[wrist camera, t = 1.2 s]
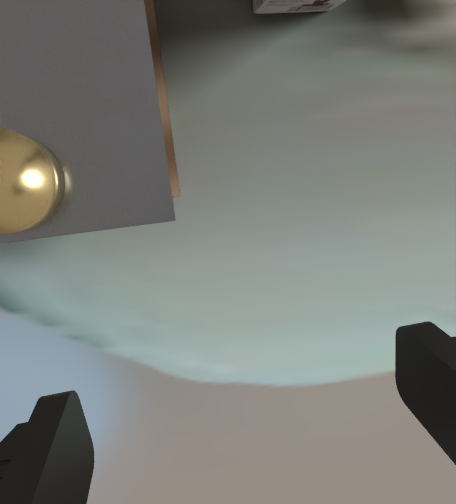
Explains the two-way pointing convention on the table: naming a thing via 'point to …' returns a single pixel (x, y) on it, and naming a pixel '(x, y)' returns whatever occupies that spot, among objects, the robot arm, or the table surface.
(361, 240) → the table surface
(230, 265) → the table surface
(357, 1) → the table surface
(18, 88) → the level plate
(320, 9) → the coffee box
